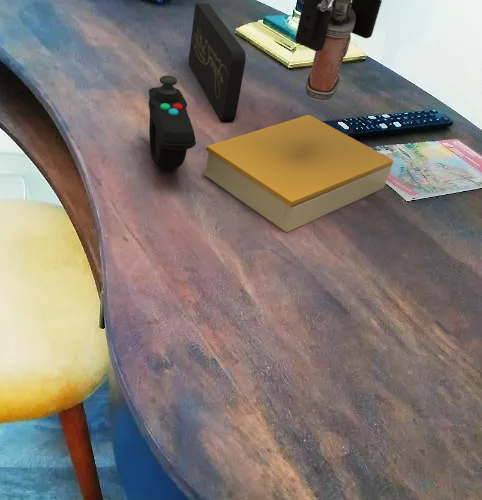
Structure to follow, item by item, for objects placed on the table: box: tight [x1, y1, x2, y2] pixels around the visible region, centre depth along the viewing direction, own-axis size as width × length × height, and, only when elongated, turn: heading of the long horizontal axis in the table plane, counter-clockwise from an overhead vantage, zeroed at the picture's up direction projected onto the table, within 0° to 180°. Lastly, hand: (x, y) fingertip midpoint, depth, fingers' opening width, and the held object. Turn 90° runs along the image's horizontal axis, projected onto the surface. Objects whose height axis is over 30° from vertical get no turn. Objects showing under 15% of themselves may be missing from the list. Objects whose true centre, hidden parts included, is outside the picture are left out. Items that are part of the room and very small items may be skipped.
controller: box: [148, 75, 197, 170], centre depth 77 cm, size 4×12×10 cm, turn 8°
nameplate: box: [188, 2, 247, 121], centre depth 95 cm, size 21×2×10 cm, turn 10°
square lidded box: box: [204, 152, 393, 233], centre depth 78 cm, size 18×14×3 cm
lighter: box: [305, 0, 356, 102], centre depth 68 cm, size 8×3×10 cm, turn 162°
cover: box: [205, 114, 394, 206], centre depth 77 cm, size 18×14×1 cm
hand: (333, 38), depth 68 cm, fingers closed on lighter, 7 cm apart
